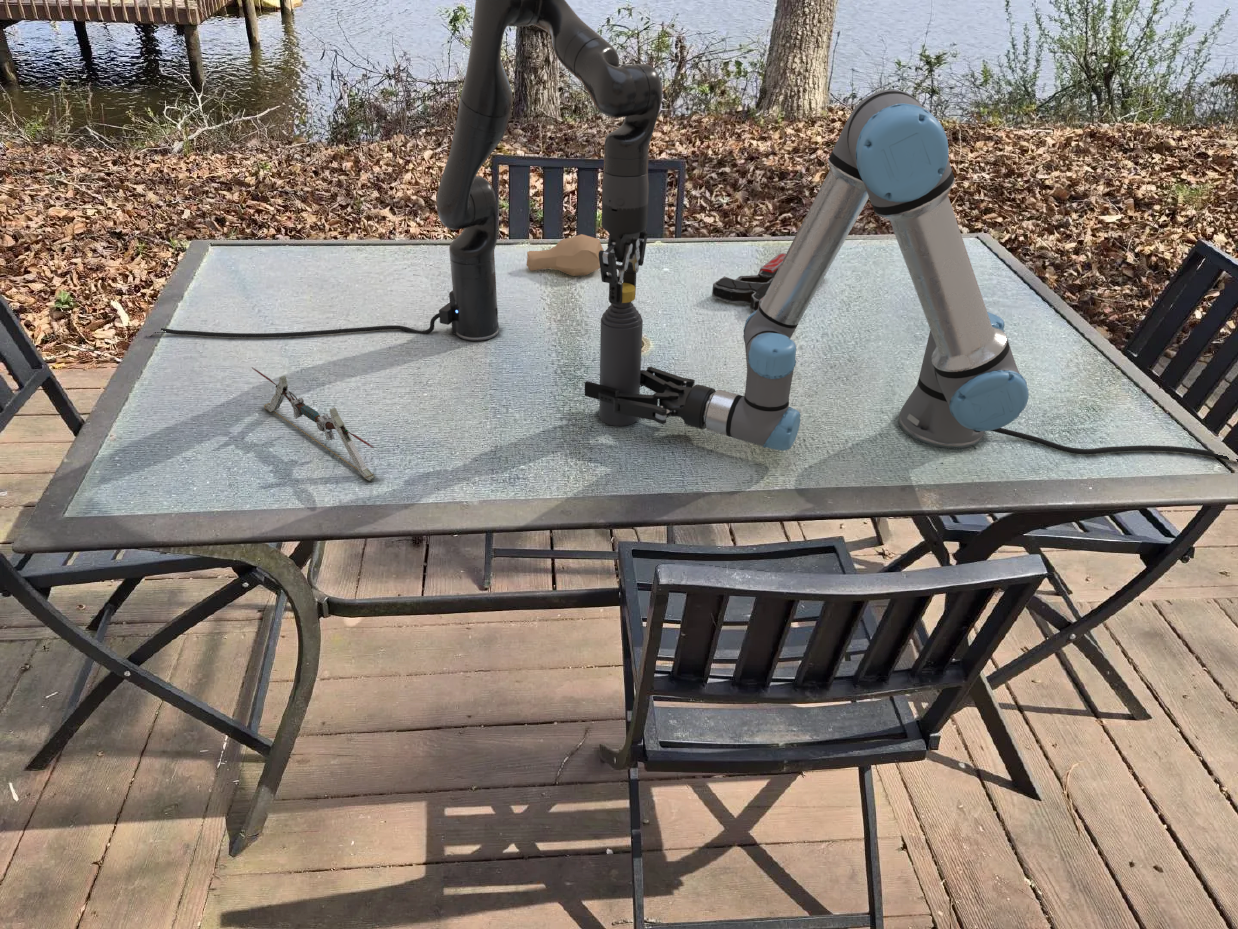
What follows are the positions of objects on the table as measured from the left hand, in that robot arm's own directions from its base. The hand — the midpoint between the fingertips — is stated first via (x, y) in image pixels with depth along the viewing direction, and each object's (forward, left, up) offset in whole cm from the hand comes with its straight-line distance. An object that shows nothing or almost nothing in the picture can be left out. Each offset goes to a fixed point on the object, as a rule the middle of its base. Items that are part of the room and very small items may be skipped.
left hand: (622, 297), depth 151 cm
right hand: (-5, +1, -17) cm, 18 cm away
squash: (-39, +62, -24) cm, 77 cm away
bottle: (0, 0, -24) cm, 24 cm away
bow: (-46, -30, -24) cm, 59 cm away
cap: (0, 0, +2) cm, 2 cm away
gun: (+13, +71, -24) cm, 76 cm away
